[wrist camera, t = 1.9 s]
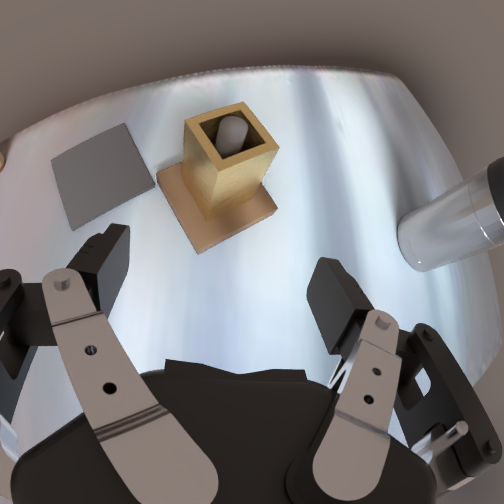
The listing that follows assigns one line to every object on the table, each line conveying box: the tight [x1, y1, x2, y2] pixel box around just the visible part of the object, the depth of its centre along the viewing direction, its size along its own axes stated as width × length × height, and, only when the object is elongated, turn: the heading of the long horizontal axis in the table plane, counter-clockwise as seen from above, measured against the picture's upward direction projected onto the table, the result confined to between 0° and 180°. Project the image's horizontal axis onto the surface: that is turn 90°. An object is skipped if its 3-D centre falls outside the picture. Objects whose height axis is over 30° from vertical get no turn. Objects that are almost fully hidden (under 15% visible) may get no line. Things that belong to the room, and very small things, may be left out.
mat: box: [51, 123, 155, 231], centre depth 29 cm, size 11×11×1 cm
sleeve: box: [182, 102, 280, 221], centre depth 26 cm, size 6×6×10 cm
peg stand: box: [156, 116, 278, 254], centre depth 26 cm, size 10×10×13 cm
